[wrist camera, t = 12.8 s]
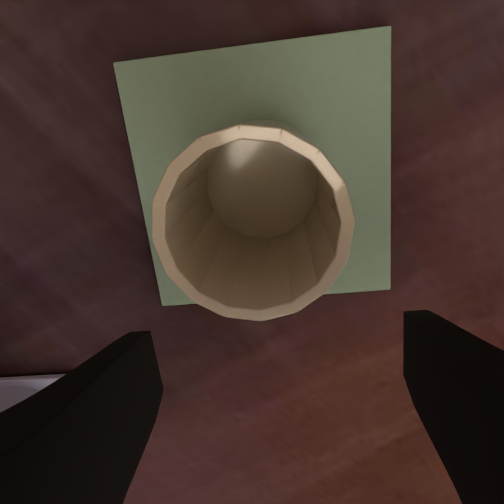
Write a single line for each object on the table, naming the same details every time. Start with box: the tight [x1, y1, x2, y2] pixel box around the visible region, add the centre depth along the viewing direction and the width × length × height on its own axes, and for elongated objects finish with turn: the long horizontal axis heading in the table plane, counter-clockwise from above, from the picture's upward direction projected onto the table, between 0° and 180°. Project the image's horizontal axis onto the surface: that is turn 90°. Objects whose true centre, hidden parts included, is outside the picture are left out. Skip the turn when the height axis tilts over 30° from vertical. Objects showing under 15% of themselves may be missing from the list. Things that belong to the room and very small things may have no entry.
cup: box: [152, 119, 355, 321], centre depth 15 cm, size 6×6×8 cm
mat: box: [113, 26, 391, 306], centre depth 19 cm, size 12×12×1 cm
